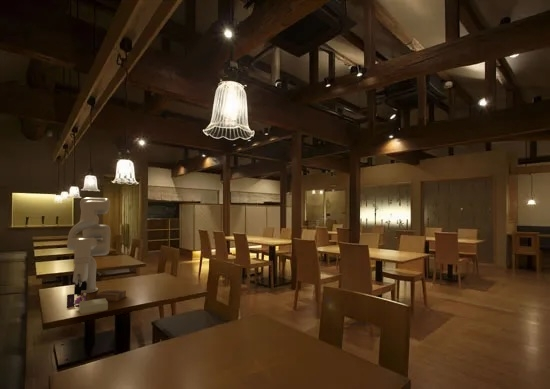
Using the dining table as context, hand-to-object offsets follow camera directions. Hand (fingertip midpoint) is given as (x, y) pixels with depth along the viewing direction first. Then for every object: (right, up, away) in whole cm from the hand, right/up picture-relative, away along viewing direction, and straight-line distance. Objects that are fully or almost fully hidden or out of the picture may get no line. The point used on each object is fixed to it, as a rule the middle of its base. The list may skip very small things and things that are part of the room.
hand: (80, 292), depth 169 cm
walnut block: (+11, -8, +11) cm, 17 cm away
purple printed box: (-1, -7, -2) cm, 7 cm away
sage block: (+12, -7, -8) cm, 16 cm away
